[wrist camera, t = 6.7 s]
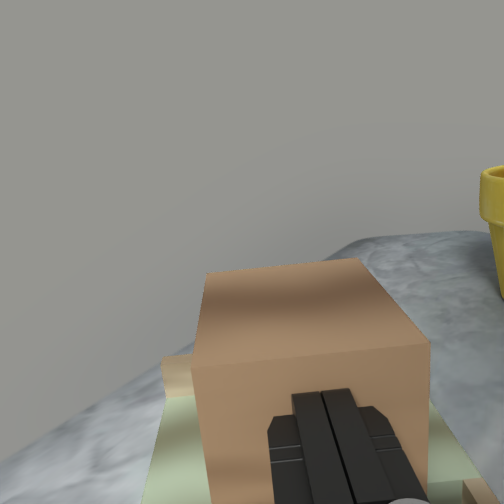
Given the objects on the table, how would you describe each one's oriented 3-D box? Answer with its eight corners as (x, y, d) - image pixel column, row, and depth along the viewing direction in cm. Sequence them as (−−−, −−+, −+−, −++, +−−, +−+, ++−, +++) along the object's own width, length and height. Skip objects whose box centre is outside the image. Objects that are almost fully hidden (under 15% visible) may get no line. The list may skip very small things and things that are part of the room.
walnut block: (425, 580, 14) (430, 342, 11) (226, 602, 14) (190, 368, 11) (362, 426, 20) (357, 257, 18) (229, 440, 20) (206, 273, 18)
